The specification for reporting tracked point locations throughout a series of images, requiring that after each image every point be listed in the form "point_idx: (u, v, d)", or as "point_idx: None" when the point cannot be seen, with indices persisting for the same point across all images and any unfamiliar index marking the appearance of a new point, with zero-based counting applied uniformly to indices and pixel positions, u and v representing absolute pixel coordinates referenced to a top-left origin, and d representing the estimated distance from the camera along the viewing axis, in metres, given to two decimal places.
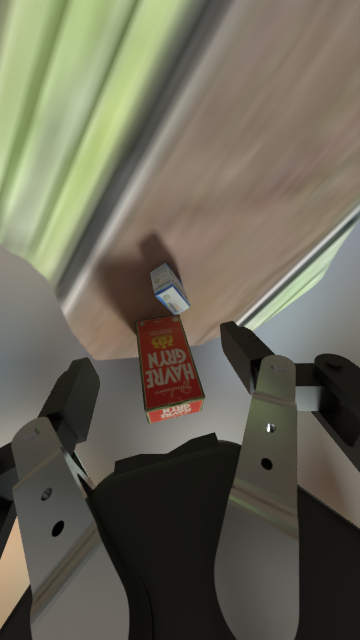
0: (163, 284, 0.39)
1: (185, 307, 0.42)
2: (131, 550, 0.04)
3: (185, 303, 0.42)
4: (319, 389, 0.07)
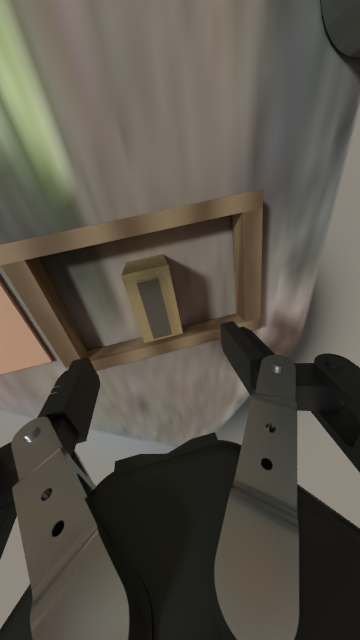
0: None
1: None
2: (131, 550, 0.04)
3: None
4: (319, 389, 0.07)
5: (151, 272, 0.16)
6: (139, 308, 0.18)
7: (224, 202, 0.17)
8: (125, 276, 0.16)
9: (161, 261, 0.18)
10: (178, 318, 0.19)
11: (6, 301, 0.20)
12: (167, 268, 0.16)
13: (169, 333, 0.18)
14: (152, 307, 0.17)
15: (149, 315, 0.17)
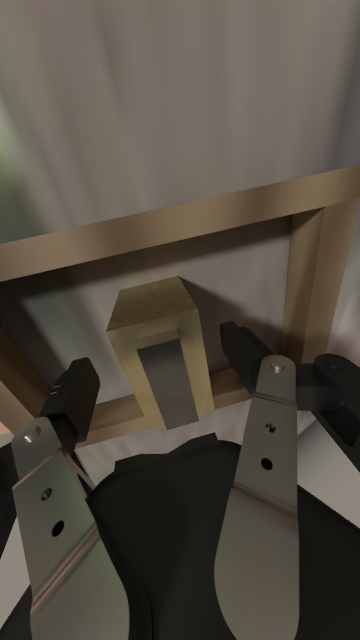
0: None
1: None
2: (131, 550, 0.04)
3: None
4: (319, 389, 0.07)
5: (165, 323, 0.08)
6: (142, 381, 0.10)
7: (297, 188, 0.09)
8: (114, 333, 0.08)
9: (180, 295, 0.10)
10: (209, 391, 0.11)
11: None
12: (195, 315, 0.08)
13: (194, 420, 0.10)
14: (167, 386, 0.09)
15: (161, 398, 0.09)
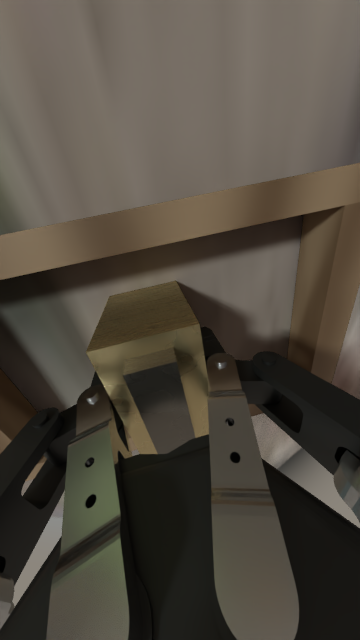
0: None
1: None
2: (147, 559, 0.04)
3: None
4: (255, 384, 0.08)
5: (159, 341, 0.07)
6: (131, 407, 0.08)
7: (315, 183, 0.08)
8: (96, 353, 0.07)
9: (178, 305, 0.08)
10: None
11: None
12: (196, 331, 0.07)
13: None
14: (161, 415, 0.07)
15: (154, 429, 0.08)
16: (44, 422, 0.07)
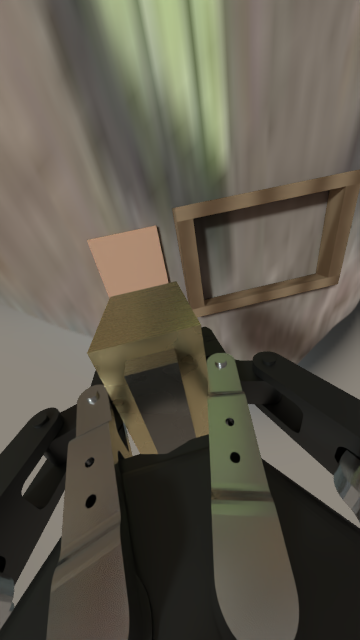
0: None
1: None
2: (147, 559, 0.04)
3: None
4: (255, 384, 0.08)
5: (160, 341, 0.07)
6: (133, 408, 0.08)
7: (335, 178, 0.24)
8: (97, 354, 0.07)
9: (179, 306, 0.08)
10: None
11: (159, 254, 0.27)
12: (198, 332, 0.07)
13: None
14: (162, 416, 0.07)
15: (155, 430, 0.08)
16: (44, 422, 0.07)
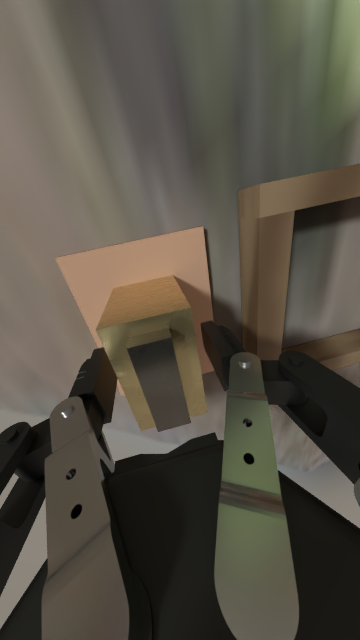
0: None
1: None
2: (140, 554, 0.04)
3: None
4: (282, 384, 0.08)
5: (157, 321, 0.08)
6: (133, 381, 0.09)
7: None
8: (104, 331, 0.08)
9: (174, 294, 0.10)
10: (202, 392, 0.11)
11: (203, 282, 0.14)
12: (188, 314, 0.08)
13: (186, 421, 0.10)
14: (158, 386, 0.09)
15: (152, 399, 0.09)
16: (13, 438, 0.07)
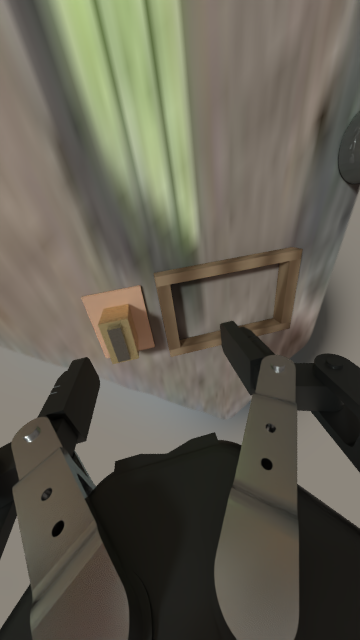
0: None
1: None
2: (131, 550, 0.04)
3: None
4: (319, 389, 0.07)
5: (117, 322, 0.26)
6: (109, 343, 0.28)
7: (281, 255, 0.31)
8: (100, 325, 0.26)
9: (125, 313, 0.28)
10: (135, 349, 0.29)
11: (142, 306, 0.32)
12: (127, 320, 0.27)
13: (128, 359, 0.29)
14: (117, 343, 0.27)
15: (115, 348, 0.27)
16: None
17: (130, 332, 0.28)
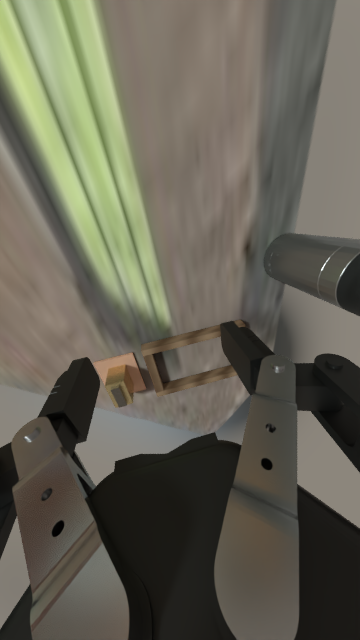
0: None
1: None
2: (131, 550, 0.04)
3: None
4: (319, 389, 0.07)
5: (116, 384, 0.41)
6: (112, 395, 0.42)
7: None
8: (106, 386, 0.40)
9: (122, 375, 0.42)
10: (130, 397, 0.43)
11: (135, 365, 0.46)
12: (123, 382, 0.41)
13: (125, 404, 0.43)
14: (117, 396, 0.41)
15: (116, 399, 0.42)
16: None
17: (126, 388, 0.42)
